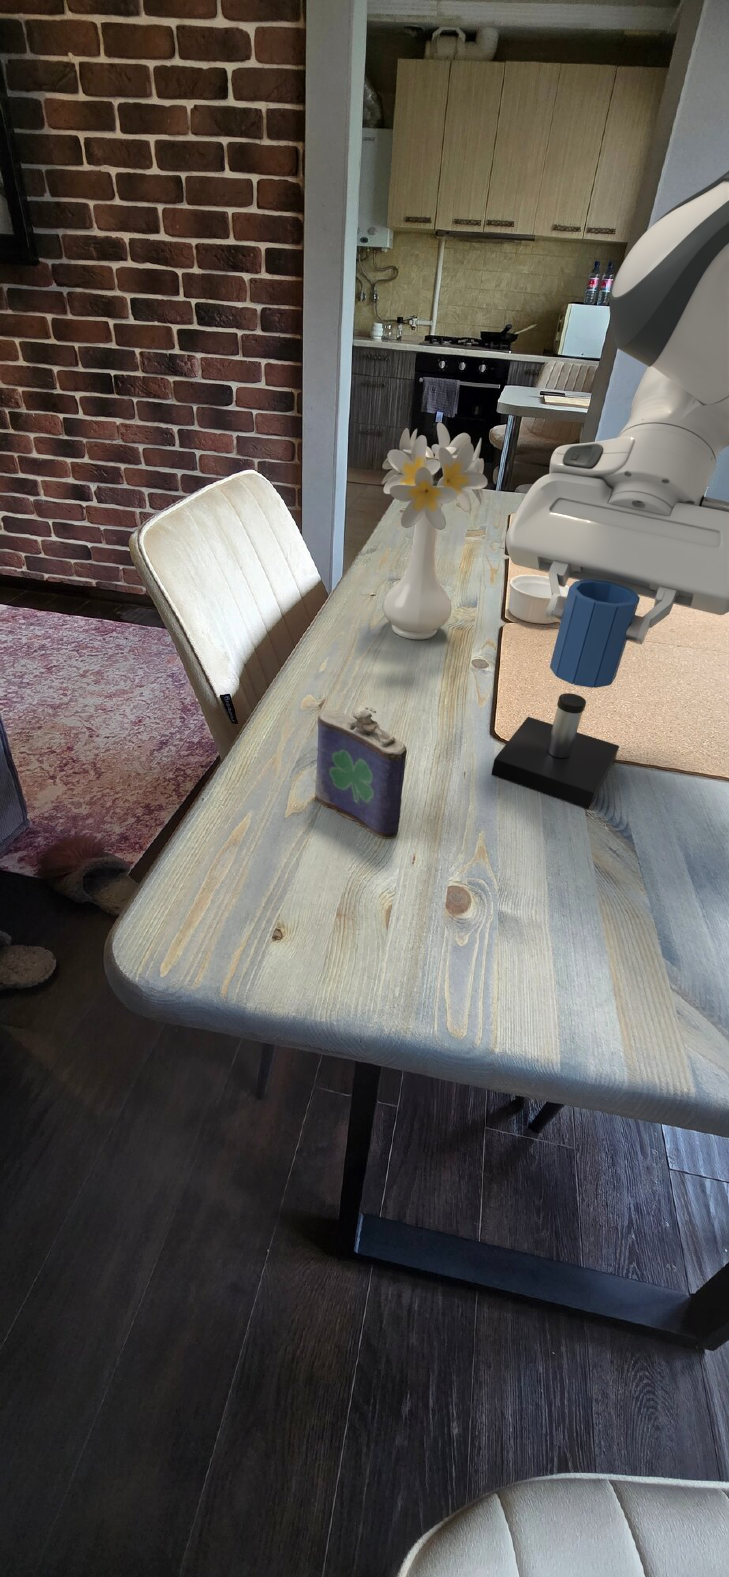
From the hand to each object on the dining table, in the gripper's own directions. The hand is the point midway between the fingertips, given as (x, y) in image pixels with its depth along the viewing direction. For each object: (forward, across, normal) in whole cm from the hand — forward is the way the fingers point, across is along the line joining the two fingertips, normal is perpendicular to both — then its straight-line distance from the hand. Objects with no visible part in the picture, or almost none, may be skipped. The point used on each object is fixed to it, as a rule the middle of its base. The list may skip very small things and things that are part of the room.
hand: (592, 629), depth 63 cm
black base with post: (+10, +1, -14) cm, 17 cm away
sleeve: (+3, 0, -4) cm, 4 cm away
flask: (+22, +14, -1) cm, 26 cm away
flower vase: (-5, +27, -29) cm, 40 cm away
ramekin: (-17, +16, -41) cm, 47 cm away
